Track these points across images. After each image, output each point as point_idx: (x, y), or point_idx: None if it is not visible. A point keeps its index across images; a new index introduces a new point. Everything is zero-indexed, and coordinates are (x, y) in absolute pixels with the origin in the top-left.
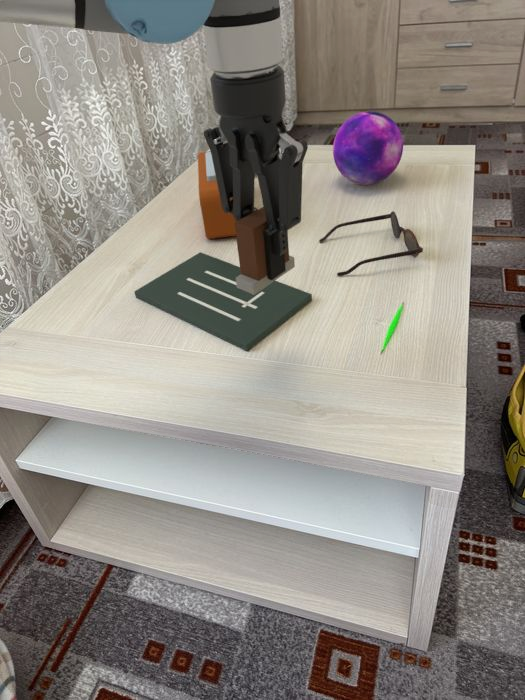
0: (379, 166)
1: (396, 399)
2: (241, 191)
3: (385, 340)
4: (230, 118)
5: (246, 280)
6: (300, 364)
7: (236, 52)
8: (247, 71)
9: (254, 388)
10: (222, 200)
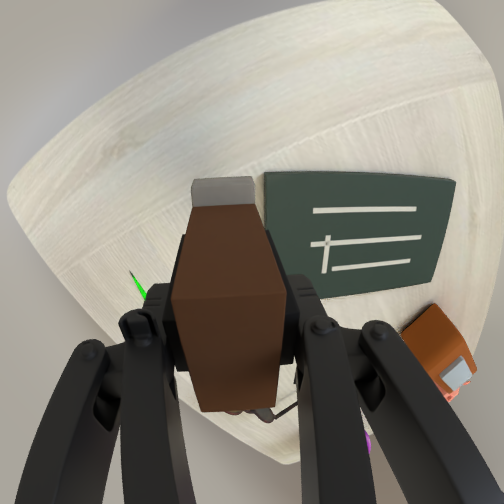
0: None
1: (72, 225)
2: (313, 431)
3: (142, 290)
4: None
5: (220, 190)
6: (185, 197)
7: None
8: None
9: (200, 123)
10: (401, 350)
